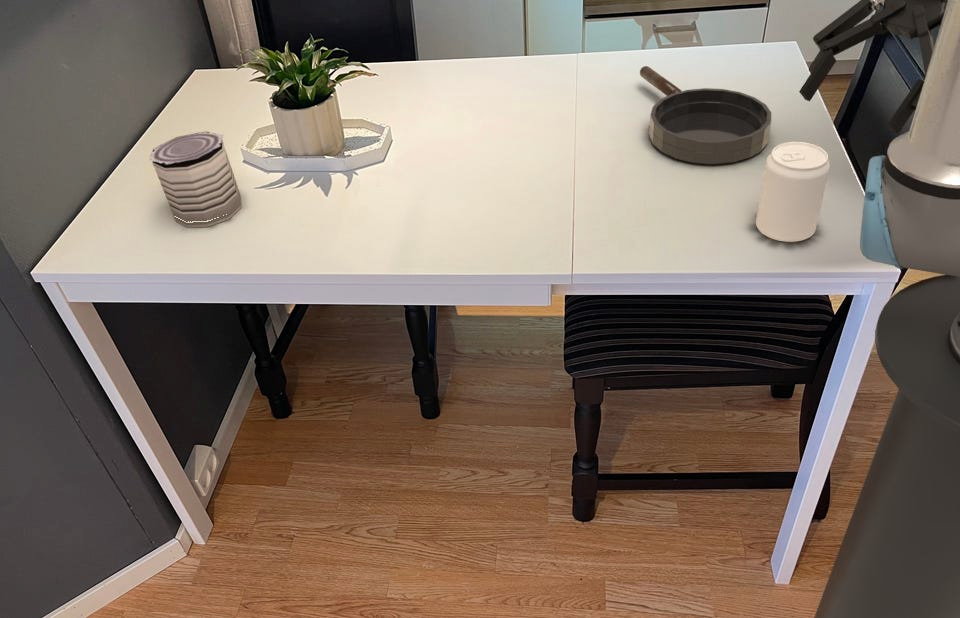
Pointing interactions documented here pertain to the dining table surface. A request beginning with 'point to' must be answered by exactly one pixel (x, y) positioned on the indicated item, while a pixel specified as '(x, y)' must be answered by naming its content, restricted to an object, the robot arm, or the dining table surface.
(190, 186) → the can
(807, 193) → the beverage can
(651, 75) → the pan handle
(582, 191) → the dining table surface
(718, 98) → the pan
